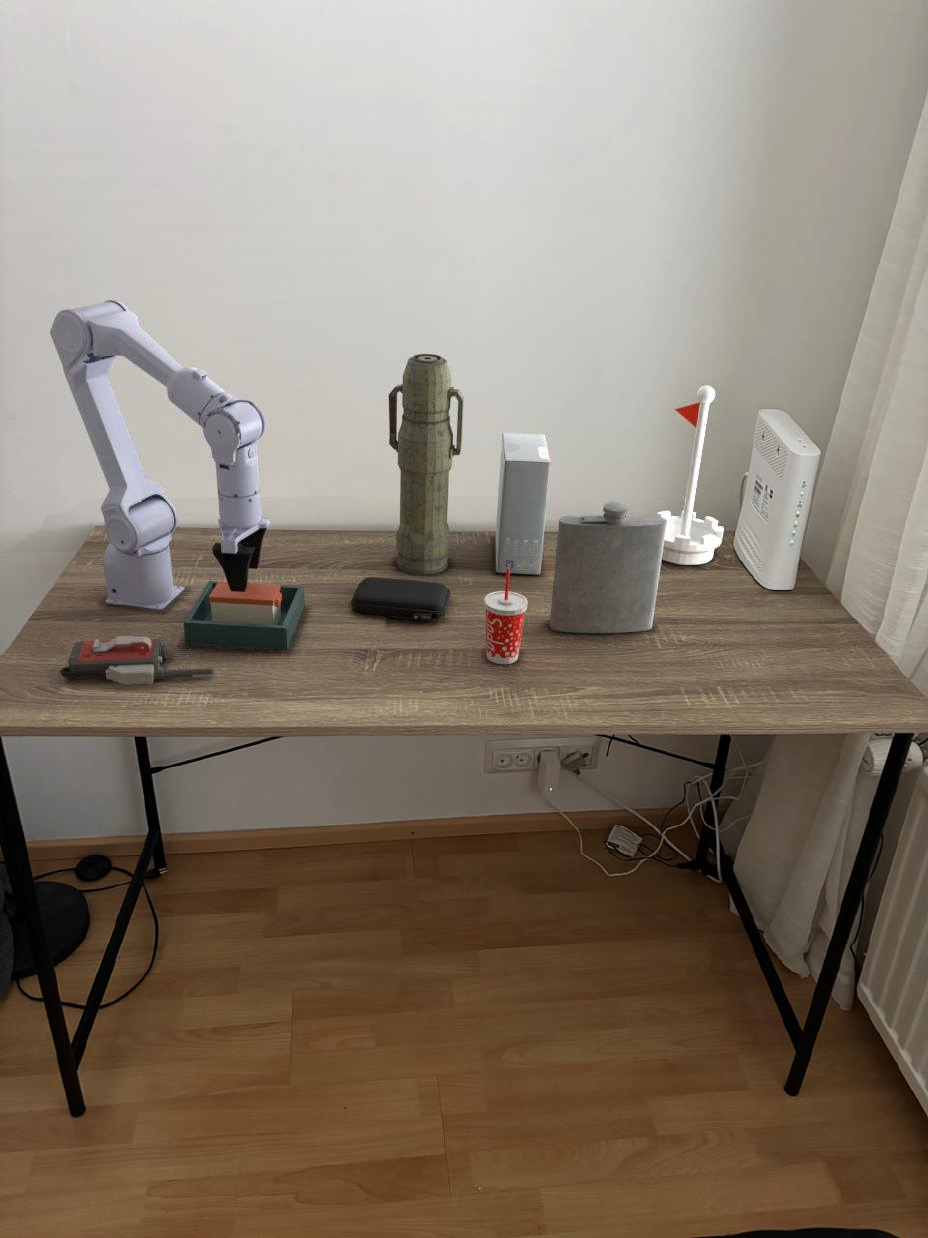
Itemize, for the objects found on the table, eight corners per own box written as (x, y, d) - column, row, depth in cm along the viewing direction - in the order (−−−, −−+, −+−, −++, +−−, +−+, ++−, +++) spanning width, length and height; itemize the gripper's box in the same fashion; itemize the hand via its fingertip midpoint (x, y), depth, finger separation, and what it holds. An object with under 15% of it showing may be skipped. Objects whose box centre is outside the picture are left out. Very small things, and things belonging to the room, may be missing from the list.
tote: (185, 647, 146) (183, 622, 144) (210, 603, 158) (208, 580, 156) (287, 653, 146) (286, 628, 144) (305, 609, 158) (304, 585, 156)
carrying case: (346, 620, 155) (443, 628, 154) (346, 602, 154) (443, 610, 152) (360, 589, 164) (451, 597, 163) (360, 572, 163) (452, 580, 162)
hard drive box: (541, 576, 172) (551, 463, 162) (495, 574, 172) (502, 460, 162) (536, 539, 185) (545, 432, 176) (494, 537, 185) (500, 430, 176)
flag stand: (731, 551, 184) (760, 386, 170) (698, 574, 175) (726, 401, 161) (666, 531, 191) (689, 371, 177) (631, 552, 182) (653, 385, 168)
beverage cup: (474, 649, 149) (478, 562, 142) (512, 642, 151) (518, 556, 144) (491, 670, 144) (497, 580, 137) (530, 662, 146) (538, 574, 140)
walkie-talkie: (58, 691, 134) (214, 684, 137) (53, 662, 132) (212, 656, 135) (70, 657, 142) (218, 652, 145) (65, 629, 140) (215, 624, 143)
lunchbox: (208, 630, 149) (206, 596, 147) (218, 613, 154) (215, 580, 151) (277, 634, 149) (276, 600, 147) (284, 617, 154) (283, 584, 151)
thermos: (391, 550, 178) (392, 348, 162) (458, 555, 178) (467, 352, 161) (383, 572, 170) (384, 362, 154) (454, 577, 170) (463, 366, 154)
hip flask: (649, 620, 159) (666, 499, 150) (655, 633, 155) (673, 510, 146) (547, 621, 157) (558, 499, 148) (552, 634, 154) (564, 510, 144)
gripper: (255, 511, 135) (261, 602, 142) (278, 473, 148) (282, 559, 154) (202, 508, 135) (210, 600, 142) (229, 471, 148) (235, 557, 155)
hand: (244, 578), depth 148 cm, fingers open, 7 cm apart
